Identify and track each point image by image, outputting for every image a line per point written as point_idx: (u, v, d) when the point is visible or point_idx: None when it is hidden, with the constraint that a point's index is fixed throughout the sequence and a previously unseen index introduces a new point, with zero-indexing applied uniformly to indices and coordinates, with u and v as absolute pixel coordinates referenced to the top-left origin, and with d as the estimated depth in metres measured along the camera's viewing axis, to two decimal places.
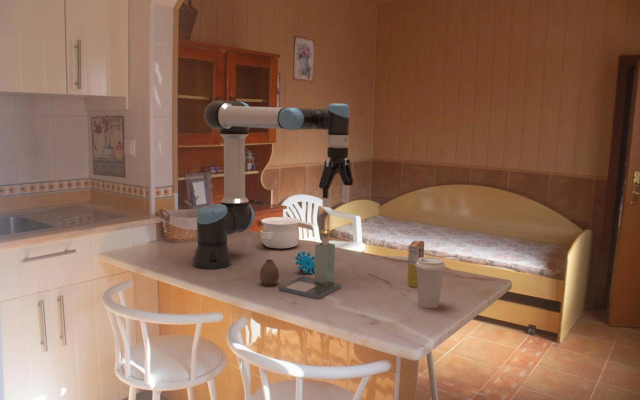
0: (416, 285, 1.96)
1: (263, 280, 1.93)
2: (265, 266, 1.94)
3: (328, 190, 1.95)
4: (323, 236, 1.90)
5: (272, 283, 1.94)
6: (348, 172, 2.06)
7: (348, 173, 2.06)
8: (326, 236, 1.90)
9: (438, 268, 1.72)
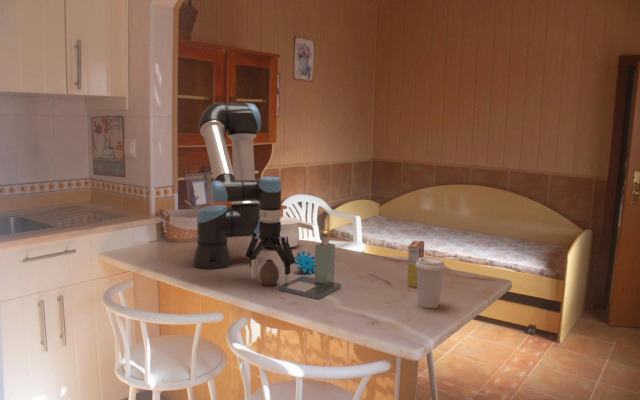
0: (416, 285, 1.96)
1: (263, 280, 1.93)
2: (265, 266, 1.94)
3: None
4: (323, 236, 1.90)
5: (272, 283, 1.94)
6: None
7: None
8: (326, 236, 1.90)
9: (438, 268, 1.72)
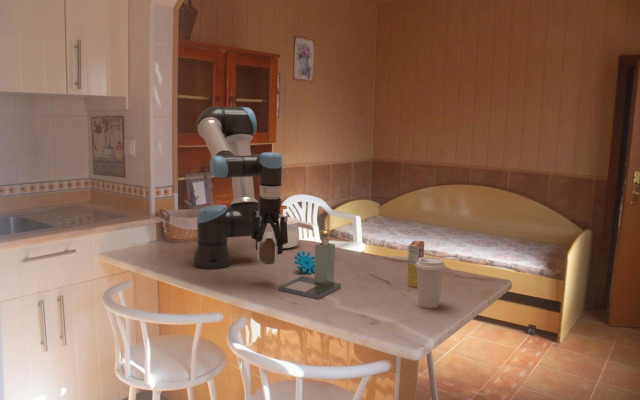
0: (416, 285, 1.96)
1: (263, 259, 1.93)
2: (265, 245, 1.93)
3: (258, 242, 1.96)
4: (323, 236, 1.90)
5: (272, 262, 1.93)
6: None
7: None
8: (326, 236, 1.90)
9: (438, 268, 1.72)
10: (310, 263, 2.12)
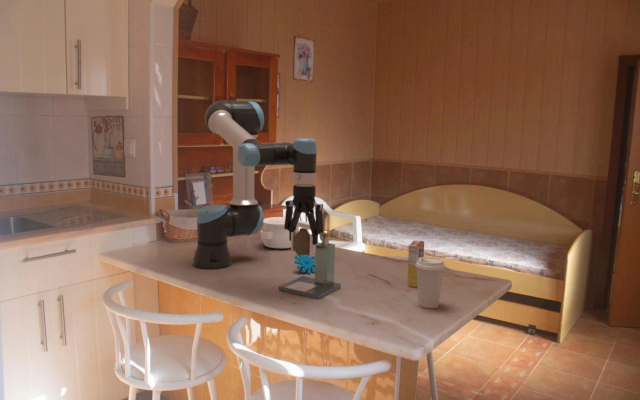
0: (416, 285, 1.96)
1: (297, 249, 1.84)
2: (299, 235, 1.84)
3: None
4: (323, 236, 1.90)
5: (306, 252, 1.85)
6: None
7: None
8: (326, 236, 1.90)
9: (438, 268, 1.72)
10: (310, 263, 2.12)
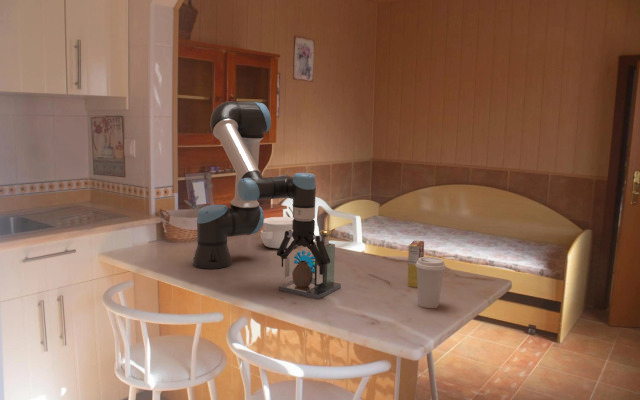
0: (416, 285, 1.96)
1: (296, 282, 1.86)
2: (298, 267, 1.86)
3: None
4: (323, 236, 1.90)
5: (306, 285, 1.86)
6: None
7: None
8: (326, 236, 1.90)
9: (438, 268, 1.72)
10: (309, 263, 2.13)
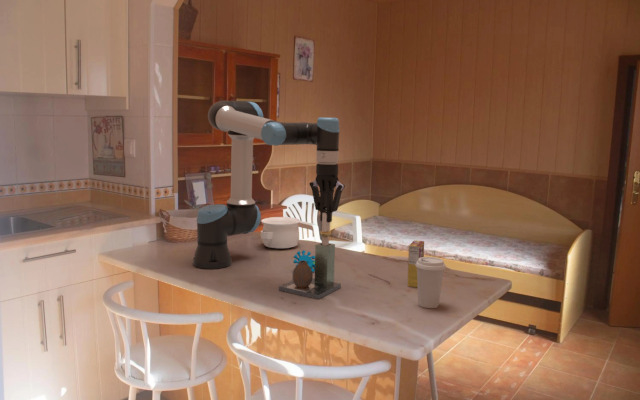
0: (416, 285, 1.96)
1: (296, 282, 1.86)
2: (298, 267, 1.86)
3: None
4: (323, 237, 1.90)
5: (306, 285, 1.86)
6: None
7: None
8: (326, 237, 1.90)
9: (438, 268, 1.72)
10: (309, 263, 2.13)
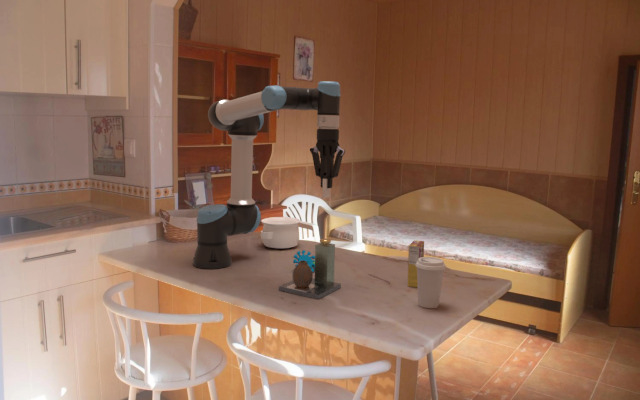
0: (416, 285, 1.96)
1: (296, 282, 1.86)
2: (298, 267, 1.86)
3: (323, 179, 1.88)
4: None
5: (306, 285, 1.86)
6: None
7: None
8: (326, 245, 1.91)
9: (438, 268, 1.72)
10: (309, 262, 2.13)
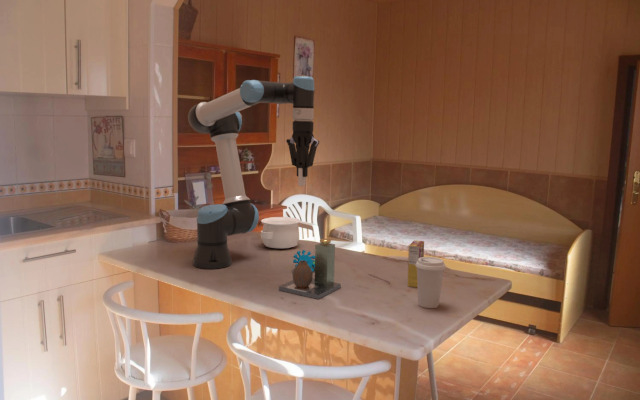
0: (416, 285, 1.96)
1: (296, 282, 1.86)
2: (298, 267, 1.86)
3: None
4: None
5: (306, 285, 1.86)
6: None
7: None
8: (326, 245, 1.91)
9: (438, 268, 1.72)
10: (309, 262, 2.13)
